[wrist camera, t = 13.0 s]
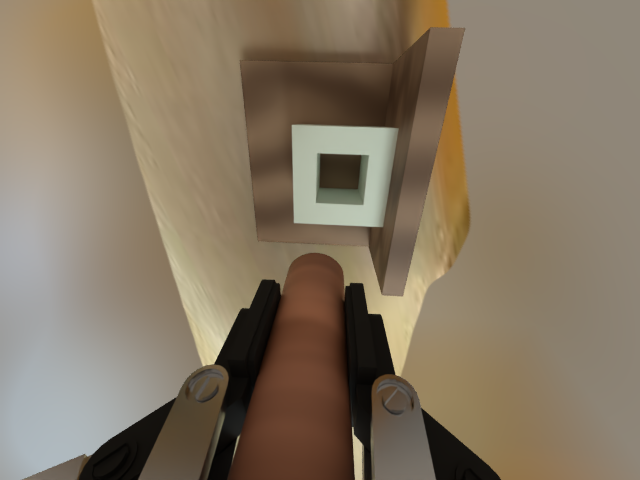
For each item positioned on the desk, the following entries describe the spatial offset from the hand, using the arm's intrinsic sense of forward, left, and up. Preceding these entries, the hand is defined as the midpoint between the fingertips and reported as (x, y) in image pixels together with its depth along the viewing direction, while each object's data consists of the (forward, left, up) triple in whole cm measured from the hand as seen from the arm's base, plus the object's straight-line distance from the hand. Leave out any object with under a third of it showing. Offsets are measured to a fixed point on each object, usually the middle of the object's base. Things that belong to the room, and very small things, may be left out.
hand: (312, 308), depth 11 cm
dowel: (0, 0, -2) cm, 2 cm away
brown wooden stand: (+3, 0, -22) cm, 22 cm away
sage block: (+3, -2, -20) cm, 20 cm away
